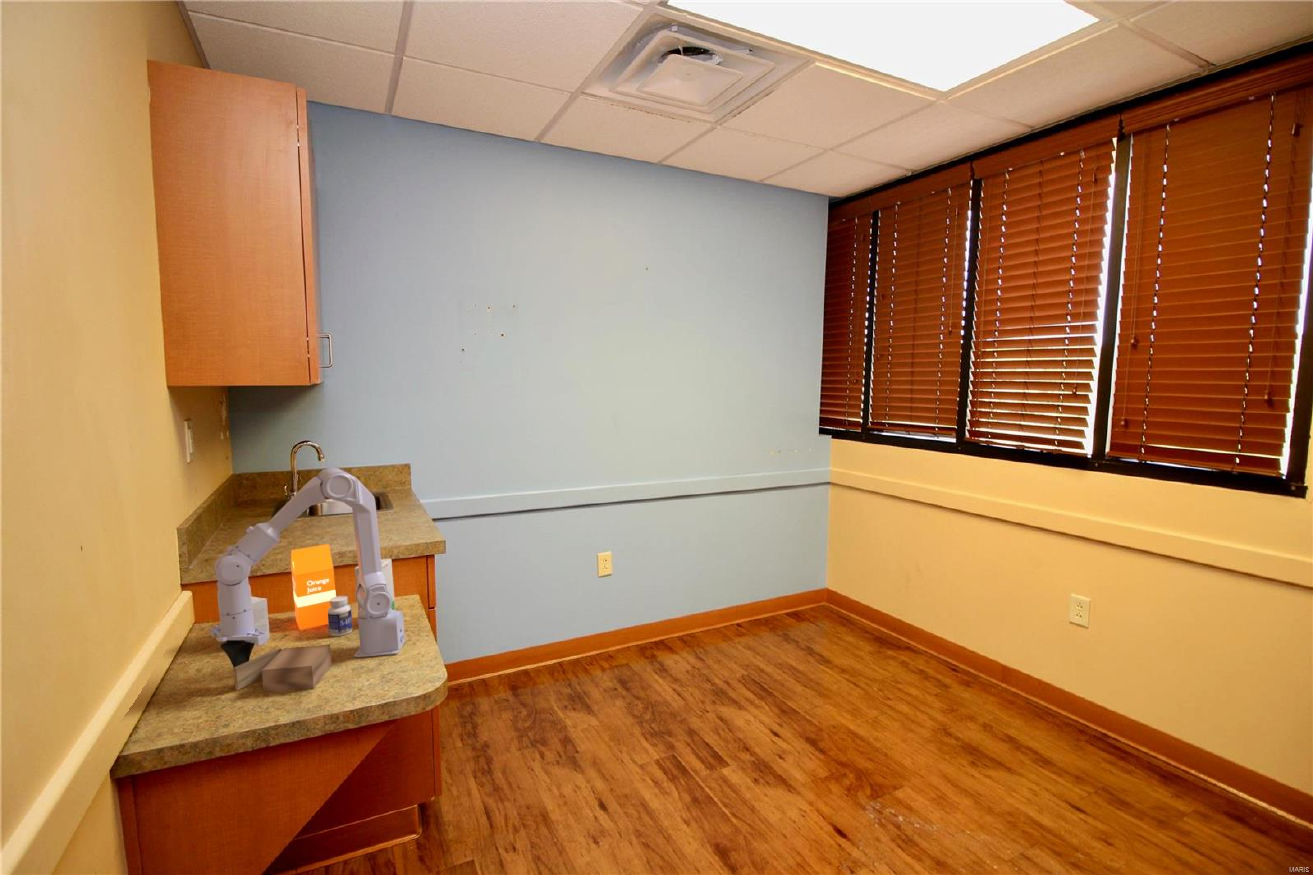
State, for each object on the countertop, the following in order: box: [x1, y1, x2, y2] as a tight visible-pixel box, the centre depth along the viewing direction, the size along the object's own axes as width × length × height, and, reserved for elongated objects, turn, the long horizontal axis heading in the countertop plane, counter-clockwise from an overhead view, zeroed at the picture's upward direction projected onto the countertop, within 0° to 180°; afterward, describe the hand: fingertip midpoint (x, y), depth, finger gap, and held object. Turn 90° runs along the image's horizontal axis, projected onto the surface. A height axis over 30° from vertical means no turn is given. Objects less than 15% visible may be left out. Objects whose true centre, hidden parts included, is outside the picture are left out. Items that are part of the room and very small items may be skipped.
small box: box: [225, 595, 271, 646], centre depth 151 cm, size 8×6×10 cm
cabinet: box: [262, 644, 332, 694], centre depth 132 cm, size 10×10×5 cm
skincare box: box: [354, 558, 396, 612], centre depth 162 cm, size 8×7×16 cm
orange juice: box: [290, 544, 337, 631], centre depth 162 cm, size 8×9×20 cm
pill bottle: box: [327, 595, 353, 637], centre depth 155 cm, size 5×5×9 cm
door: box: [233, 648, 283, 690], centre depth 132 cm, size 1×10×5 cm, turn 157°
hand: (242, 672), depth 130 cm, fingers closed
